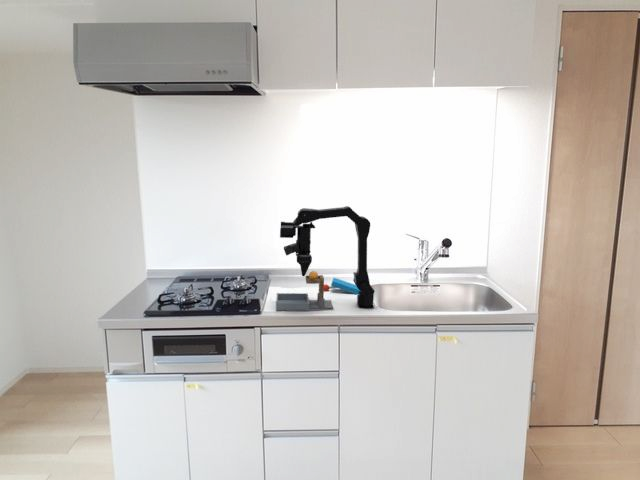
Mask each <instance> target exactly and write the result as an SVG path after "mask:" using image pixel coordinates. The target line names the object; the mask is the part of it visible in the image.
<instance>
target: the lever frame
mask: <svg viewBox="0 0 640 480" xmlns="http://www.w3.org/2000/svg"><path fill="white" fill-rule="evenodd" d="M310 310H311V311H312V310H313V311H314V310H315V311H316V310H319V311H320V310H322V311H325V310H327V311H328V310H329V311H330V310H332V311H333V310H334V305H333V303H332V300H331V299H325V298H319V292H317V297H316V299H309V311H310Z"/></svg>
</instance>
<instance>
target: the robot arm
mask: <svg viewBox="0 0 640 480" xmlns="http://www.w3.org/2000/svg"><path fill="white" fill-rule="evenodd" d="M343 217H347V218H348V219H350V220H351V222H353V223H354V226H355V232H356V236H357V269H356V272H355V271H354V272H353V280H352V281H353V284H354V285H356V286H357V288H358V289H359V290H360V291H359V295H357V294H356V295H357V296H356V305H357V306H358V308H360V309H374V308H375V306H374V295H375V290H374V288H373V286H372V285H371V284H370V278H369V272H368V236H369V234H370V230H371V222H370V220H368V218H366V217H365V216H361V215H359V214H358V213H357V212H355V211H354V210H353V209H352V207H350V206H341V207H333V208H332V207H331V208H323V209H321V208H320V209H315V208H306V207H305V208H300V209H299V211H298V212H297V217H295V219H294V220H293V221H289V222H288V221H287V222H286V221H281V222H280V228H279V229H280V230H279V238H281V239H284V238H285V239H293V238H294V237H295V236H296V240H295V241H296V242H294V243H290V244H288V245H285V246H283V251H284V253H285V256H290V254H294V253H295V256H296V262H297V264H298V265H300V273H301V276H302V277H306V274H307V272H308V270H309V268H310V265H311V264H312V261H313V257H312V254H311V243H312V241H311V239H312V238H311V236H312V235H311V233H312V229H315V228H316V226H315V225H314V223H313V222H315V221H317V220H320V219H321V220H323V219H333V218H343Z"/></svg>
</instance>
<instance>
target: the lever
mask: <svg viewBox="0 0 640 480" xmlns="http://www.w3.org/2000/svg"><path fill="white" fill-rule="evenodd" d="M332 289H340V290H342V291H346V292H348V293H352V294H354V295H359V291H360V290H359V289H358V288H357V286H356V285H355V283H351V282H348V281H346V280H342V279H340V278H336V277H333V278H332V282H331V284H330V285H329V284H327V283H324V292H328V291H329V290H332Z"/></svg>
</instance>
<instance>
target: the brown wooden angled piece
mask: <svg viewBox="0 0 640 480" xmlns="http://www.w3.org/2000/svg"><path fill="white" fill-rule="evenodd" d="M305 282H306V285H307V284H310V285H311V284H312V285H313V284H314V285H315V284H317V285H318V293H319V298H324V295H325V294H324V292H325V291H324V285H325V278H324V274H319V275H318V278H317V279H310V278H309V274H307V275H306V274H305ZM324 299H325V298H324Z"/></svg>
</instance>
